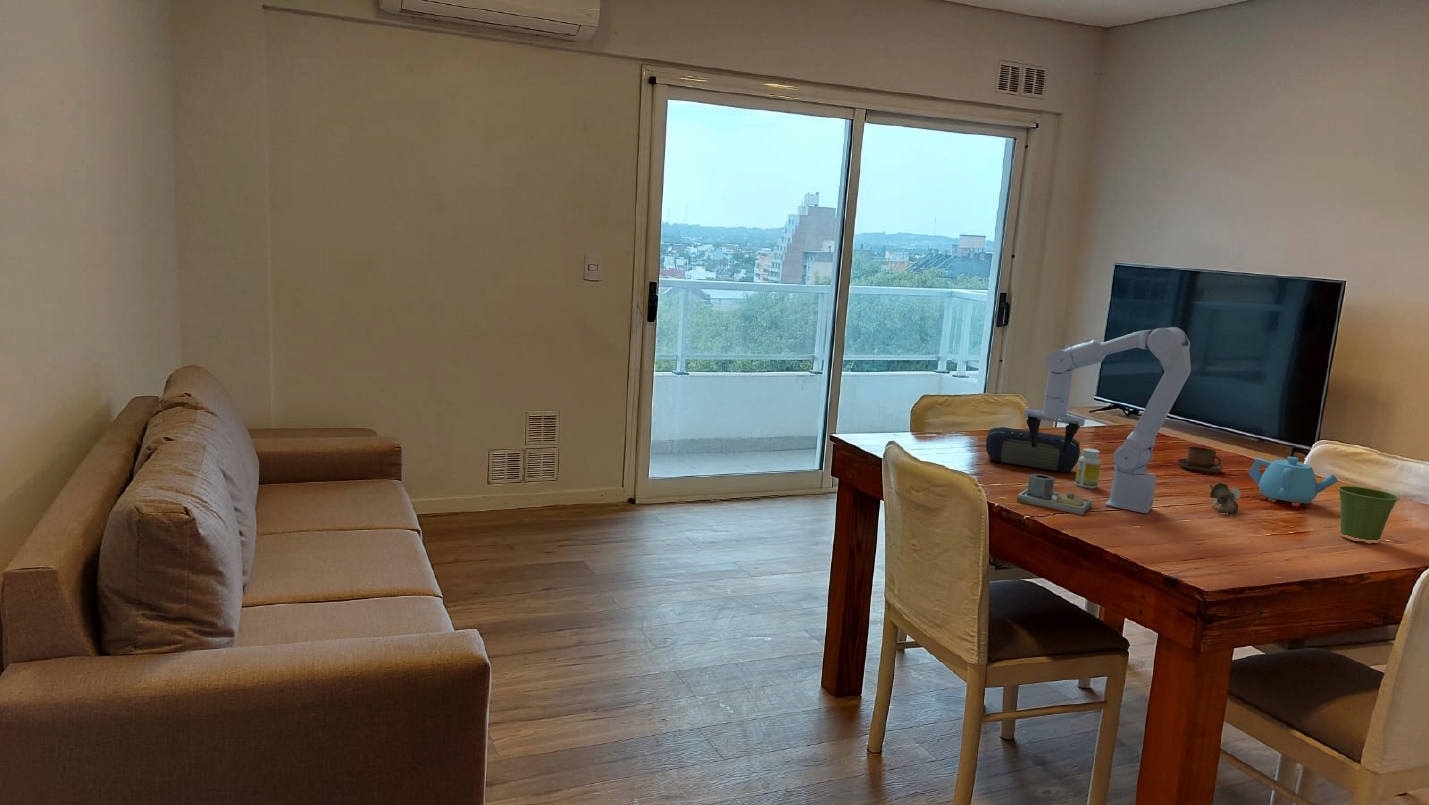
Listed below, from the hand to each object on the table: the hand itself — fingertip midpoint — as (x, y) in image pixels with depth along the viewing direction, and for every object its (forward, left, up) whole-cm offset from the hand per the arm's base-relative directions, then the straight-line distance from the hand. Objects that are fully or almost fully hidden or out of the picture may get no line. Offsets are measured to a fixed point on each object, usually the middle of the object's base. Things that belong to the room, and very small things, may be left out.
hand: (1049, 449), depth 246 cm
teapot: (-53, -38, -10) cm, 66 cm away
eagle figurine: (-40, -14, -10) cm, 43 cm away
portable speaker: (+9, -22, -10) cm, 26 cm away
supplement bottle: (-8, -11, -10) cm, 17 cm away
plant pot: (-68, -10, -10) cm, 69 cm away
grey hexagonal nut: (-2, +15, -9) cm, 18 cm away
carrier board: (-6, +15, -10) cm, 19 cm away
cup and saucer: (-30, -62, -10) cm, 69 cm away
